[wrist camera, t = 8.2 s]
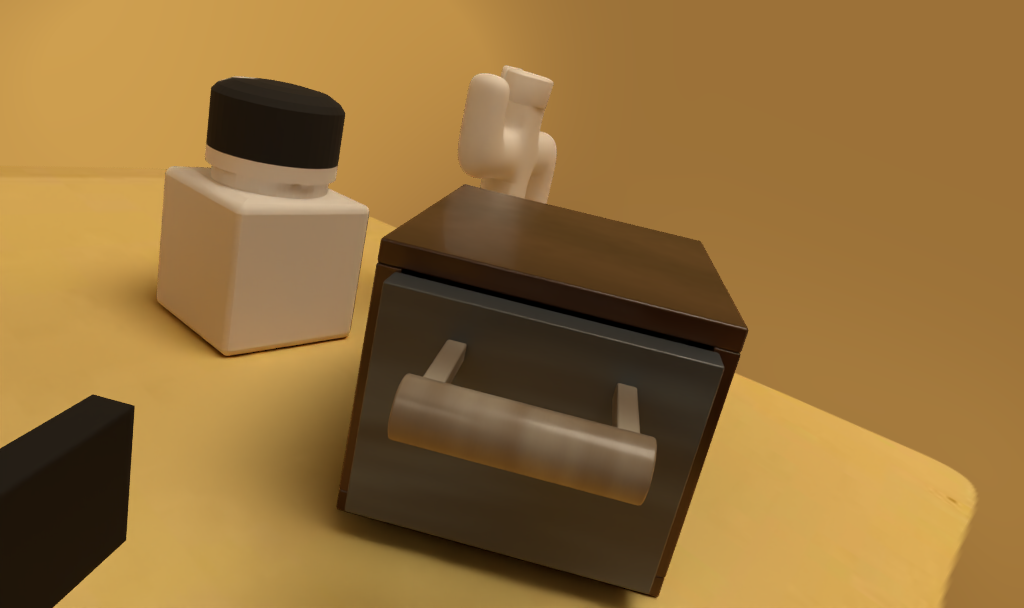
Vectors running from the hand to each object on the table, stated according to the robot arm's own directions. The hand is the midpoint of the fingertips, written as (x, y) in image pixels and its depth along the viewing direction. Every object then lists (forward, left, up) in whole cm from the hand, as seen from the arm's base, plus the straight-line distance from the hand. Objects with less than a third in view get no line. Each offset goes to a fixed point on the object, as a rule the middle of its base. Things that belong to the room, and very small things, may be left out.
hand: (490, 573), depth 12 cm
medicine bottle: (+4, +28, -8) cm, 29 cm away
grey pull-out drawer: (+8, +10, -6) cm, 14 cm away
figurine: (+18, +29, -8) cm, 35 cm away
